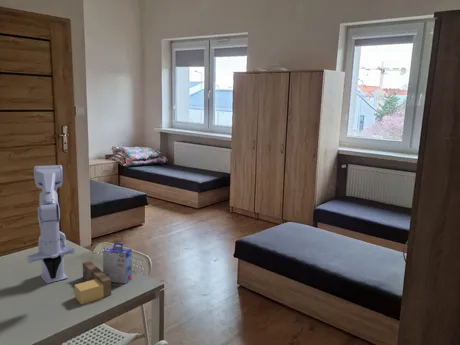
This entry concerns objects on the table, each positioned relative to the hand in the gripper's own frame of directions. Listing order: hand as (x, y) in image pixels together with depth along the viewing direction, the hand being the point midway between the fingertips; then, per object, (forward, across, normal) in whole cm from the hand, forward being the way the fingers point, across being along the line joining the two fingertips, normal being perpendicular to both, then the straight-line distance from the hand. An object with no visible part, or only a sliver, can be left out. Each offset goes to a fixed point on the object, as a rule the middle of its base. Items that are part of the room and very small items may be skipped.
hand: (52, 277), depth 137 cm
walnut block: (+9, +16, +4) cm, 19 cm away
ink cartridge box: (+10, +25, +4) cm, 27 cm away
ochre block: (+10, +11, -3) cm, 15 cm away
